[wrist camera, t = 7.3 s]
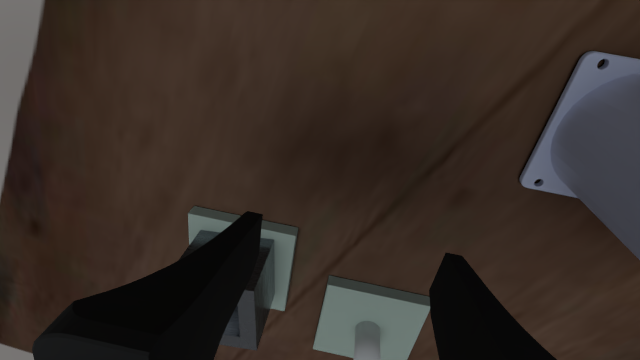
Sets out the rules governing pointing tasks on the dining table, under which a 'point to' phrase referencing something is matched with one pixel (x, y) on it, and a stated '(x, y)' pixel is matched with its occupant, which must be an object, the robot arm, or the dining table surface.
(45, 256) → the dining table surface
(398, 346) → the square peg board
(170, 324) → the robot arm
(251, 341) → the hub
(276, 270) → the square peg base
